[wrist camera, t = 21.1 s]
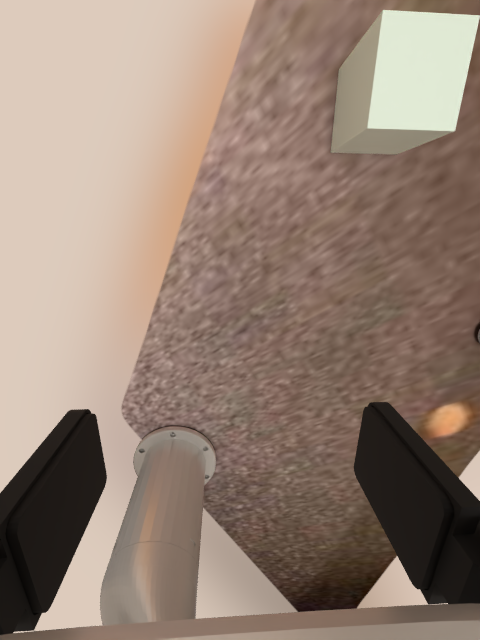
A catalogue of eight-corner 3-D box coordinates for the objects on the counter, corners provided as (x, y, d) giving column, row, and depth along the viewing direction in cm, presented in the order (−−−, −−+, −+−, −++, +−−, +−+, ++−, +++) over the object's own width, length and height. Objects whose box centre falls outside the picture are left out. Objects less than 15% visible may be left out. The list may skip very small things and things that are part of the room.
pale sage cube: (396, 154, 33) (454, 131, 25) (330, 152, 33) (367, 128, 24) (410, 72, 31) (479, 15, 22) (338, 68, 30) (383, 9, 22)
